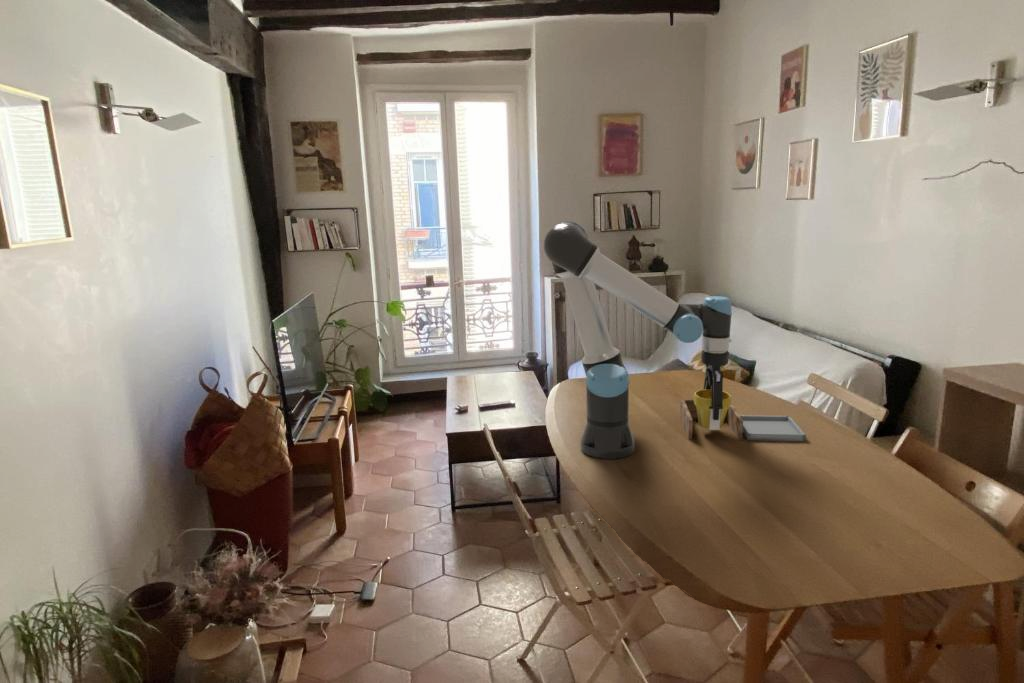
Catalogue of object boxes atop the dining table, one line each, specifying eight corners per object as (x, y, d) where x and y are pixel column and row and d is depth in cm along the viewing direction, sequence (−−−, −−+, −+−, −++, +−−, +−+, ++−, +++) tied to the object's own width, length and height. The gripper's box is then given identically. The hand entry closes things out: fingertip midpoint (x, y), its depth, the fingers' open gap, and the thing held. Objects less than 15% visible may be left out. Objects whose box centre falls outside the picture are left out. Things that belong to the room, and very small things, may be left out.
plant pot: (731, 432, 178) (733, 400, 176) (694, 430, 180) (695, 398, 178) (726, 420, 188) (728, 389, 185) (691, 418, 190) (693, 388, 187)
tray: (805, 441, 176) (805, 434, 176) (748, 440, 178) (748, 433, 178) (788, 421, 191) (789, 415, 191) (736, 421, 193) (736, 415, 193)
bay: (742, 440, 178) (743, 420, 177) (688, 439, 181) (689, 420, 179) (728, 417, 197) (729, 399, 195) (680, 416, 199) (680, 399, 198)
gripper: (737, 360, 167) (732, 437, 172) (721, 341, 189) (717, 410, 194) (708, 360, 168) (704, 436, 173) (695, 341, 190) (692, 409, 195)
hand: (711, 422), depth 184 cm, fingers closed on plant pot, 10 cm apart
